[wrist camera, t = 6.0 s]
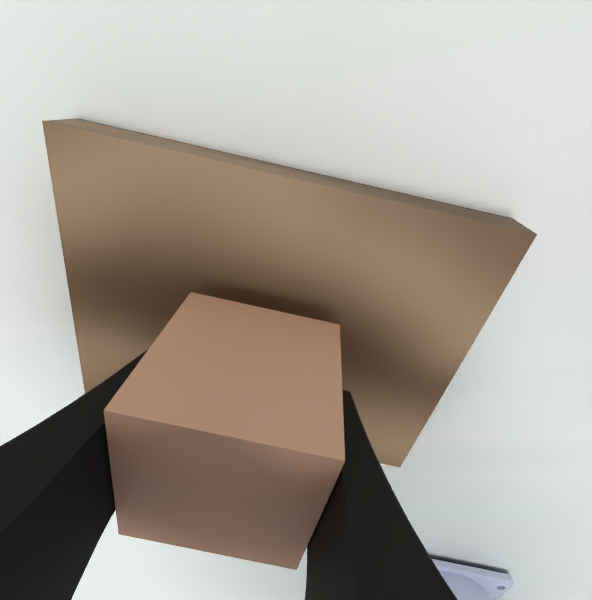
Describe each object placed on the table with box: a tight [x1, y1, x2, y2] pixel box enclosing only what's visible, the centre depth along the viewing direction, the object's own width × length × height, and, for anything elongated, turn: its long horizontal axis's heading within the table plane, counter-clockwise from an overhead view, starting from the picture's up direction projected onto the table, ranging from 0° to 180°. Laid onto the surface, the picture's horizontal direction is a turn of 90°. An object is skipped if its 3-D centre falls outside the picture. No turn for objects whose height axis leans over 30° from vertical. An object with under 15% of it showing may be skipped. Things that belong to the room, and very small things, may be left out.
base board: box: [42, 119, 537, 467], centre depth 13 cm, size 11×14×2 cm
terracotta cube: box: [104, 292, 345, 570], centre depth 9 cm, size 4×4×4 cm
